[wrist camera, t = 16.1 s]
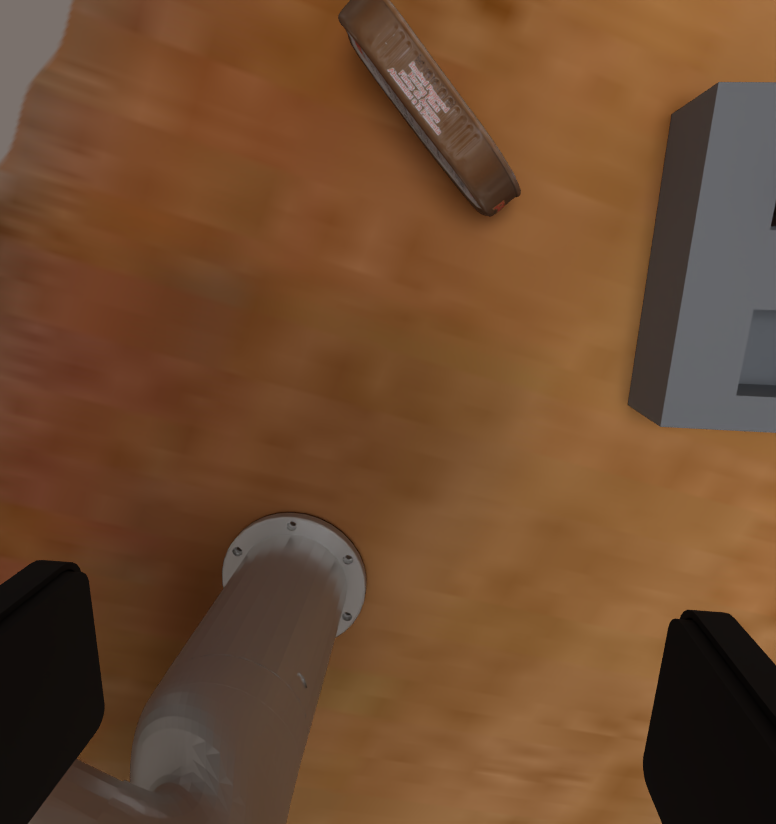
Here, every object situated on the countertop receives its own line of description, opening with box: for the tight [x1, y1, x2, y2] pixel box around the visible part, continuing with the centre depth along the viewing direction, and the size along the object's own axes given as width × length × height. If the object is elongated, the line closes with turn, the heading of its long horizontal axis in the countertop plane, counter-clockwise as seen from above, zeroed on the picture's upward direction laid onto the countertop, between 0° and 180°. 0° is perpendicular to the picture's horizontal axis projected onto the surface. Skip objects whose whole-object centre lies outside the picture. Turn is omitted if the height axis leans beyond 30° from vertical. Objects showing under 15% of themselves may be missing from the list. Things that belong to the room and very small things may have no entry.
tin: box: [338, 0, 521, 216], centre depth 33 cm, size 15×3×8 cm, turn 40°
